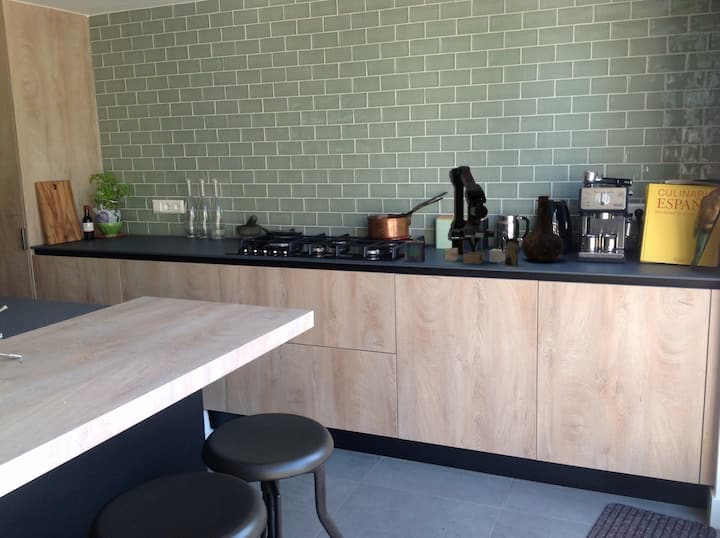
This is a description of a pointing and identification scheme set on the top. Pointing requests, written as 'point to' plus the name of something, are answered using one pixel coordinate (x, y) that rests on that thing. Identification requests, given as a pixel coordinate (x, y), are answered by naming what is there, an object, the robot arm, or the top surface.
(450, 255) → the beech block marked
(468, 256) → the walnut block
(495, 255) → the grey block marked
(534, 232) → the brown bottle vase
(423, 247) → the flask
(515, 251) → the mug
